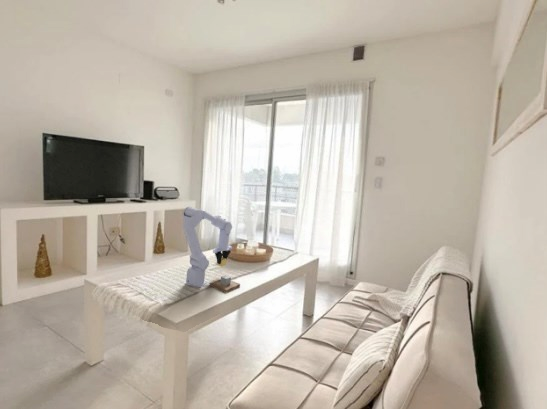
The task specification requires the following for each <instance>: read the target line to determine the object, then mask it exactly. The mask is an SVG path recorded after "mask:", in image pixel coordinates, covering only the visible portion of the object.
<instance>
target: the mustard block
mask: <svg viewBox="0 0 547 409" xmlns="http://www.w3.org/2000/svg"><path fill="white" fill-rule="evenodd" d="M227 260H228V258H227V259H226V258H223V256H222V259H221V264H218V263H217V262H216V265H217V267H218V266H219V267H225V266H227Z"/></svg>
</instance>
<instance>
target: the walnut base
mask: <svg viewBox="0 0 547 409" xmlns="http://www.w3.org/2000/svg"><path fill="white" fill-rule="evenodd" d="M220 281H221V278H220V279H217V280H214V281H211V282H210V283H209V286H210V287H211V288H214V289H216V290H219V291H221V292H223V293H228V292H231V291H234V290H236V289H238V288H240V287H241V284H240V283H239V282H236V281H234V280H231V282H230V284H229V285H226V286H225V285H222V284H220Z"/></svg>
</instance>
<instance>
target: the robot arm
mask: <svg viewBox="0 0 547 409" xmlns="http://www.w3.org/2000/svg"><path fill="white" fill-rule="evenodd" d="M182 218H183V221H182V229H183V232H184V234H185V238H186V242H187V244H188V248H189V251H190V255H189V263H190V265H191V266H189V267H188V269H187V271H186V278H185V280H186V281H185V283H184V284H185V285H188V286H192V287H196V288H197V287H198V288H202V287H203V286H205V285H206V283H207V282H208V281H206V280H205V277H206V276H205V275H206V270H207V269H208V267H209V266H210V261H209V259H207V256H206V255H205V254H204V253H203V252H202V249H201V245H200V244H201V243H200V242H199V238H198V236H197V232H196V227H197V226H198V225H199V224H200V223H201V222H202V221H203V220H207V221H209V222H211V225H212V226H214V227H216V228H218V229H219V235H218V246H217V247H216V248H213V250H212V253H213V254H214V255H215V258H216V264H217V263H218V264H221V259H222V257H223V258H226V259H227V260H228V257H229V255H230V254H231V250H233V246H232V245H229V242H230V239H229V238H230V234H231V231H232V229H233V224H232V223H231V221H227V220H226V219H225V218H222V216H221V215H212V214H210V213H209V212H207V211H205V210H202V209H199V208H195V207H192V206H187V207H186V208H184V210H183V212H182Z"/></svg>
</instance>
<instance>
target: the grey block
mask: <svg viewBox="0 0 547 409" xmlns="http://www.w3.org/2000/svg"><path fill="white" fill-rule="evenodd" d="M220 279H221V281H220V284H222V285H225V286H226V285H229V284H230V282H231V281H232V277H231V276H229V275H227V274H225V275H222V276H220Z"/></svg>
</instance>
